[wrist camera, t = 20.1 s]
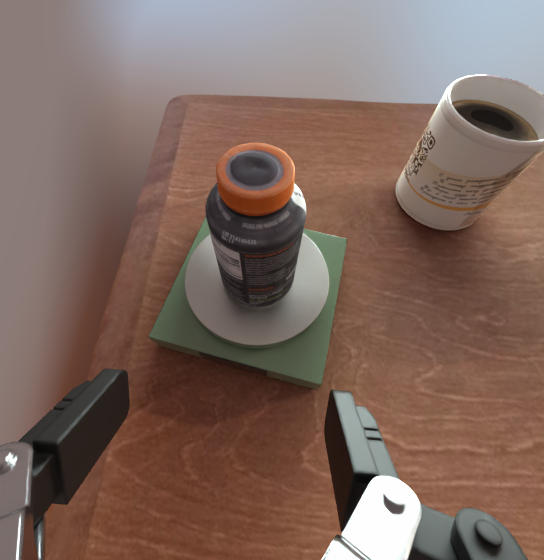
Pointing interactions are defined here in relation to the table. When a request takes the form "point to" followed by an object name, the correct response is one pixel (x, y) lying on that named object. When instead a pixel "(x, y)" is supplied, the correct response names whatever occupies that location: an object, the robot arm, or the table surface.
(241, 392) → the table surface
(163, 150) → the table surface
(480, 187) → the mug
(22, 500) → the robot arm
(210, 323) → the scale
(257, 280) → the pill bottle
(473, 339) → the table surface
